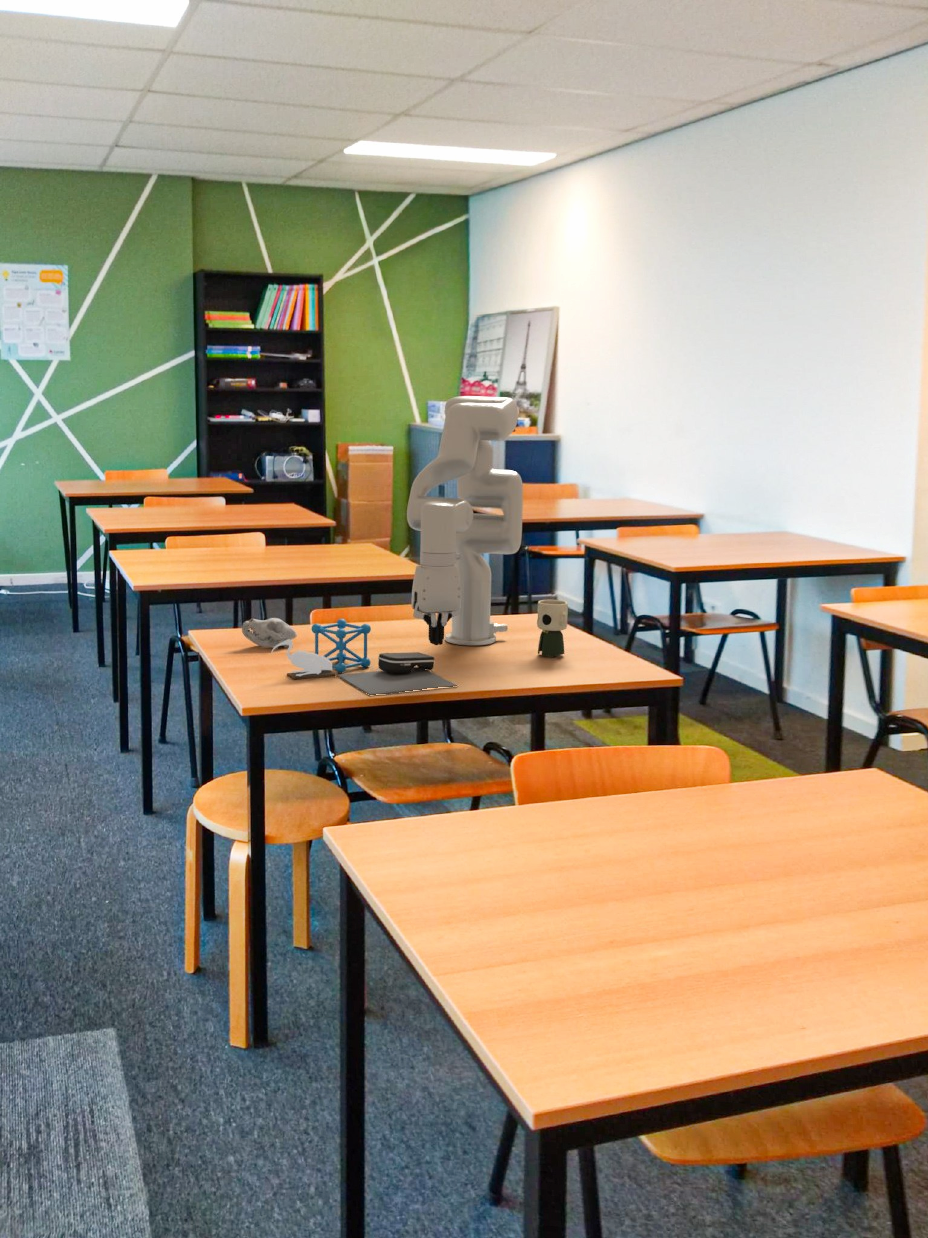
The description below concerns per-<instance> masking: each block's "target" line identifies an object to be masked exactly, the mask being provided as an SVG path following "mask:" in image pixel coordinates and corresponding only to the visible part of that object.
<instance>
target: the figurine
mask: <svg viewBox="0 0 928 1238" xmlns="http://www.w3.org/2000/svg"><path fill="white" fill-rule="evenodd" d="M292 640H293V639H292ZM292 640H286V641H284V642H281V643H279V644H278V645H276V646H275V647H274V648H272V650H271V652H270V654H271V655H272V654H273V652H274V650H276V649H275V648H276V647H278V648H279V647H282V646H281V645H289V646H288V648H287V650H286V656H287V658H288V660H289V661H290V663H291V664H292V665H293V666H294V667H296V668H300V670H291V671H290V672H287V673H286V677H287V678H289V679H291V680H293V681H304V680H314V679H315V680H316V679H324V678H325V679H326V678H336V677H337V672H336V673H335V672H334V671H333V668H332V664H333V663H332V661H330V660H329V659H327V658H328V657H327V658H326V657H324V655H321V654H319V653H318V654H315V652H310V651H306V650H296V651H294V652H293V653H292V654H290V652H291V650H292V648H293V645H294V644H293V641H292ZM335 676H336V677H335Z"/></svg>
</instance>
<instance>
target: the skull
mask: <svg viewBox="0 0 928 1238" xmlns="http://www.w3.org/2000/svg"><path fill="white" fill-rule="evenodd" d="M241 632H242V635H243V636H244V637H245V638H246V639H248V640H249V641H250V642H252V643H253V644H255V645H257V646H258V647H263V648H272V649H273V648H274V647H275V646H276V645H278V644H279V643H281V642H284V641H286V640H294V639H296V638H297V636H298V635H297V632H296V630H295V629H294V627H292V626H291V625H289V624H288V623H286V622H285V621H283V620H282V619H280V618H278V617H269V618H268V619H265V620H261V619H255V618H251V619H249V620H245V621H244V622H243V623H242V626H241ZM280 647H284V648H287V647H289V645H281V646H280ZM278 649H279V646H278V647H276V648H275V649H274V650H278Z"/></svg>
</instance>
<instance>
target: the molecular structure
mask: <svg viewBox="0 0 928 1238" xmlns="http://www.w3.org/2000/svg"><path fill="white" fill-rule="evenodd" d="M346 627H347V628H351V629H348V630H345V628H346ZM331 628H332V629H331ZM333 628H338V629H337V630H333ZM371 631H372V628H371V625H369V624H368V623H363V624H362V625H361V626H360V625H356V624H351V623H347V621H346V619H344V618H339V619H338V620H337V621H336V623H331V624H330V623H329V624H326V625H325V624H324V625H321V624H320V623H314V624H312V626H311V632H312V633H313V634H314V653H315V654H318V655H319V634H321V635H323V636H324V637H325V638H326V639H328V640H330V641H331V642H332V643H334V644H335V647H334V648H332V649H331V650H330V651H328V652H327V653H325V654H324V655H323V656H324V657H326V658H327V659H329V660H330V661H331V662H332V661H338V663H337V664H333V663H332V669H335V671H336V673H338V674H345V672H346V670H347V669H350V668H354V667H357V666H358V667H359V666H361V667H362V668H369V667H370V665H371V660H370V658H369V657H368V634H370V632H371ZM330 634H332V635H335V636H336V638H337V639H338V640H337V639H336V638H335V637H334V638H333V637H332V636H331V635H330ZM351 634H353V635H352V636H350V637H349V638H347V639H346V640H344V639H345V638H346V637H347V635H351ZM362 634H363V657H361V656H360V655H358V654H357V653H355V652H354V651H352V650H351V649H349V648H348V647H347V644H349V643H350V642H351V641H353V640H355V639H356V638H357V637H359V636H361V635H362ZM337 651H338V652H337ZM344 651H346V652H347V653H348V654H350V655H351V656H352V657H350V656H347V654H346V653H345V652H344ZM335 652H337V654H336V655H335V656H333V657H330V656H331V655H332V654H334V653H335ZM345 661H350V662H353V663H350V664H345V663H344V662H345Z"/></svg>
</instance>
